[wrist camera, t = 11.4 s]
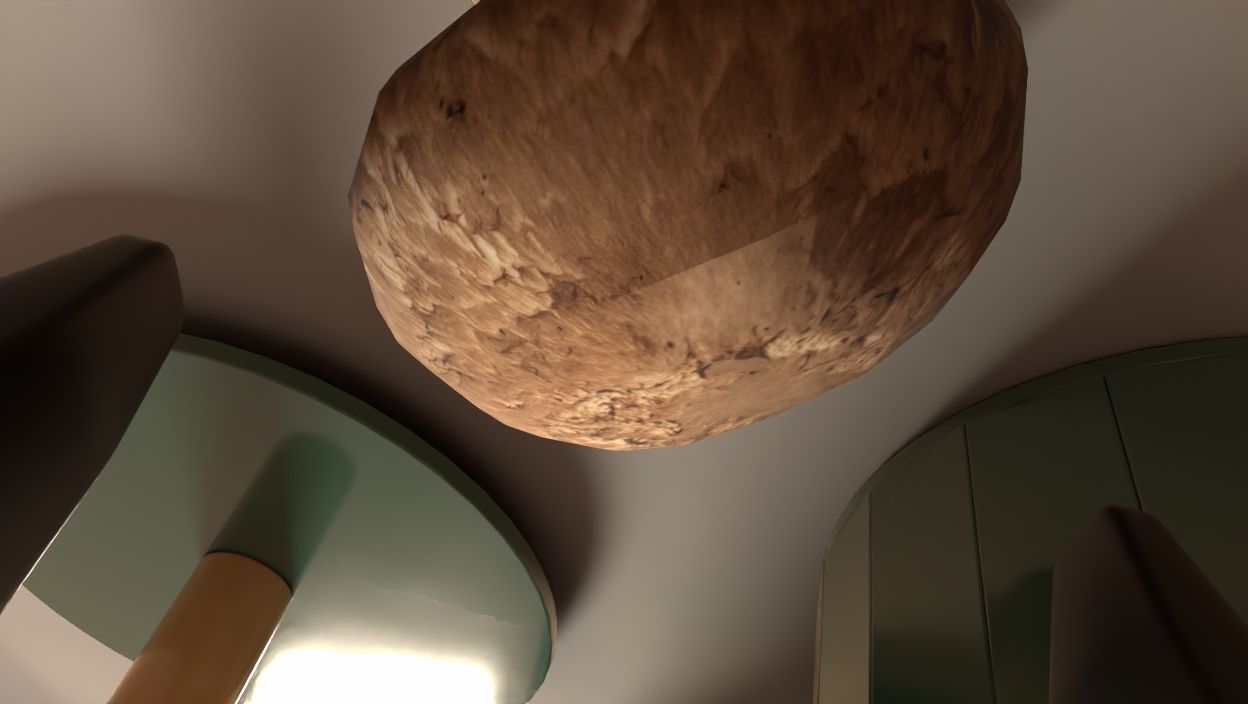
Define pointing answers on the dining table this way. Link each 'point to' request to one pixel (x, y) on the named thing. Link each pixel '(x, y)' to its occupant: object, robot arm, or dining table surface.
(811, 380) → the mushroom
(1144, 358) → the pot
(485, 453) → the dining table surface
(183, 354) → the pot lid
